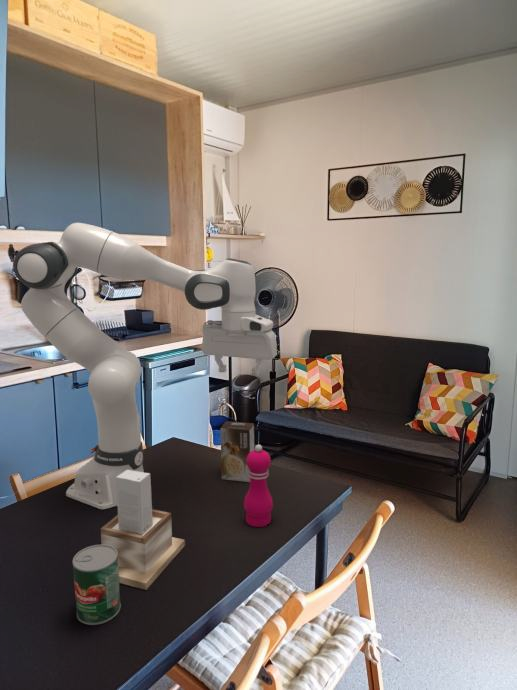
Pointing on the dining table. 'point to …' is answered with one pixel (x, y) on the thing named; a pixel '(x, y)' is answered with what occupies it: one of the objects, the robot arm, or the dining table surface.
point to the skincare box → (134, 501)
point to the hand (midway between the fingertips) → (238, 373)
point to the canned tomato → (96, 584)
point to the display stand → (143, 549)
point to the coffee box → (236, 450)
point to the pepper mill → (258, 489)
